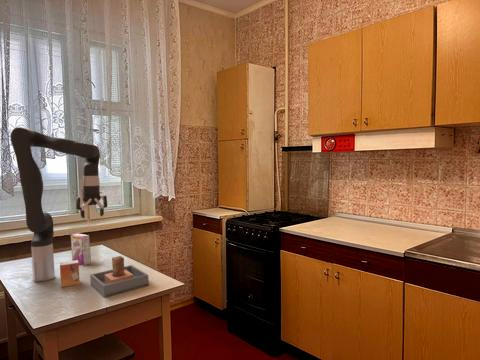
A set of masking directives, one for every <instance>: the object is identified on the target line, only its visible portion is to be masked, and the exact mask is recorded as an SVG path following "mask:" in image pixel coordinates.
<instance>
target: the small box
mask: <svg viewBox="0 0 480 360" xmlns="http://www.w3.org/2000/svg"><path fill="white" fill-rule="evenodd" d="M79 267H80V264H79V263H78V260H75V261H72V260H70V261H63V262H59V277H60V288H65V287H71V286H78V285H80V284H81V283H80V268H79Z"/></svg>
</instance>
